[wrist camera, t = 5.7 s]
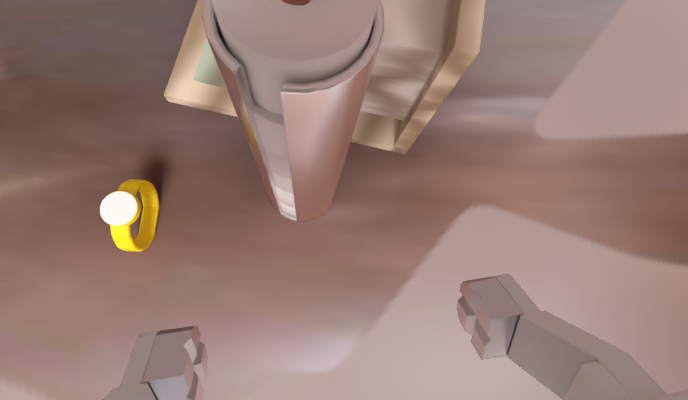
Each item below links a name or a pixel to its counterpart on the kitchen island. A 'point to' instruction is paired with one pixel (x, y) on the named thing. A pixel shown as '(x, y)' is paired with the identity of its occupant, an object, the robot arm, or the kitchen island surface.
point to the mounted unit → (416, 68)
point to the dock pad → (198, 72)
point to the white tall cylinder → (296, 88)
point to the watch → (131, 214)
